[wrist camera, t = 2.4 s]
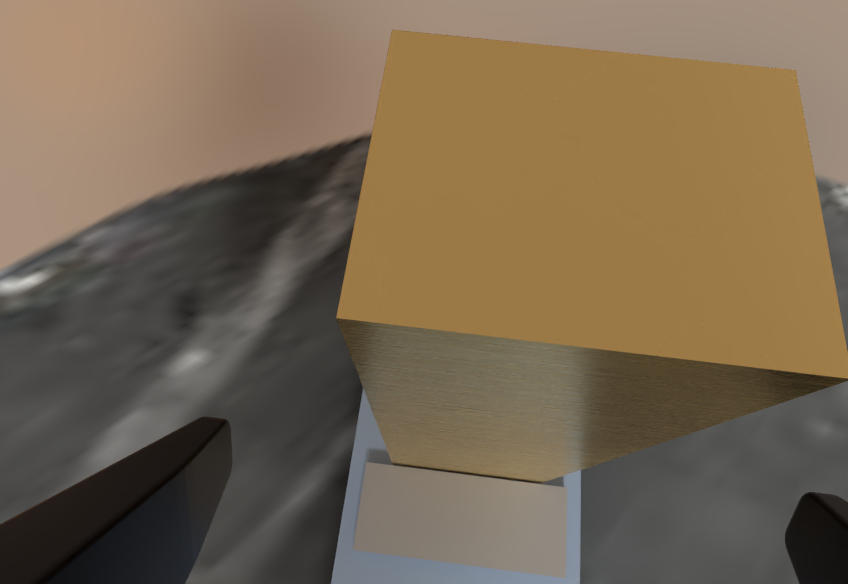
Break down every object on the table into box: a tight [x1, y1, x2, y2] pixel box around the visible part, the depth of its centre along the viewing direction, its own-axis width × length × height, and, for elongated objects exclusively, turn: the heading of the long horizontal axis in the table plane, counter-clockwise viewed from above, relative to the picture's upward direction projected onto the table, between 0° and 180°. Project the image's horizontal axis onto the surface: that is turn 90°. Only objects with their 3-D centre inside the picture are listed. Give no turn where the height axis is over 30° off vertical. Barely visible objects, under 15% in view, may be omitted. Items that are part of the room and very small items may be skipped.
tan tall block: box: [336, 30, 848, 483], centre depth 12 cm, size 4×4×13 cm
